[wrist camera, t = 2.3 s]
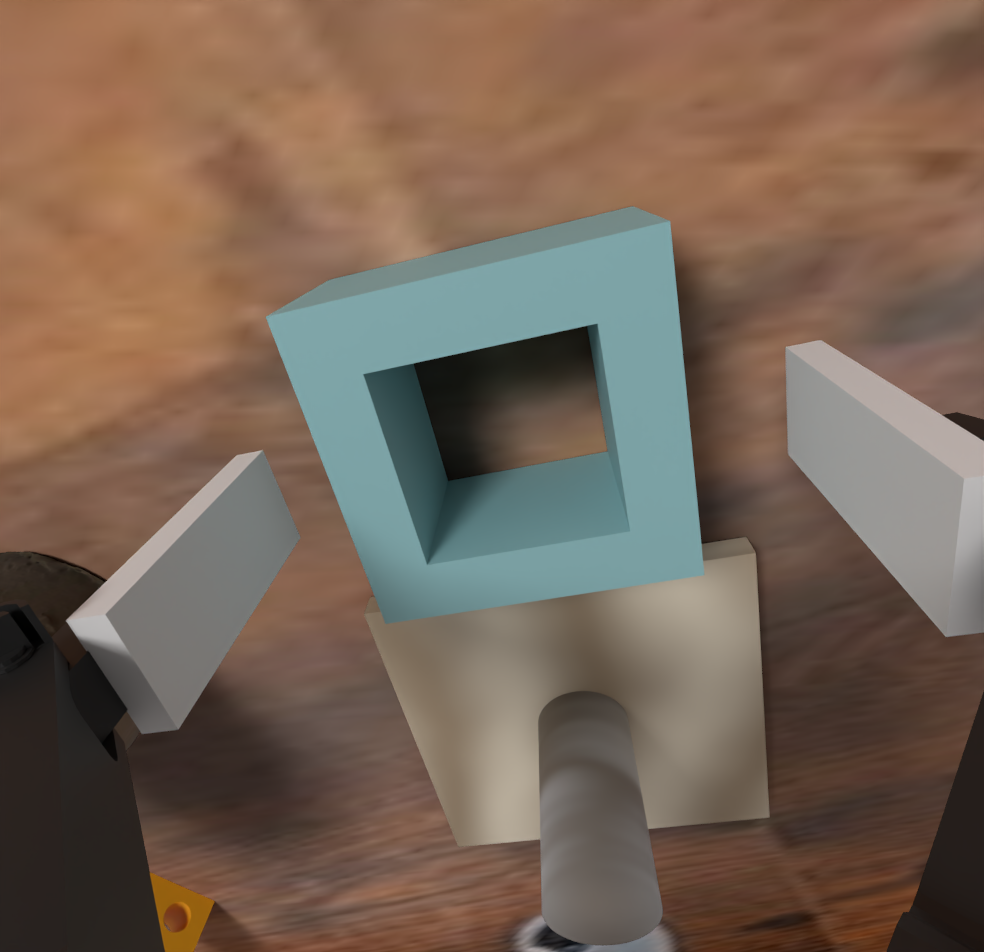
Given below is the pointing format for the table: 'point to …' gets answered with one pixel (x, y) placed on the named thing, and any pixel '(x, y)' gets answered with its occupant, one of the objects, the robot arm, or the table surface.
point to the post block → (592, 728)
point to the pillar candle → (53, 599)
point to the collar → (516, 492)
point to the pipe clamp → (179, 914)
